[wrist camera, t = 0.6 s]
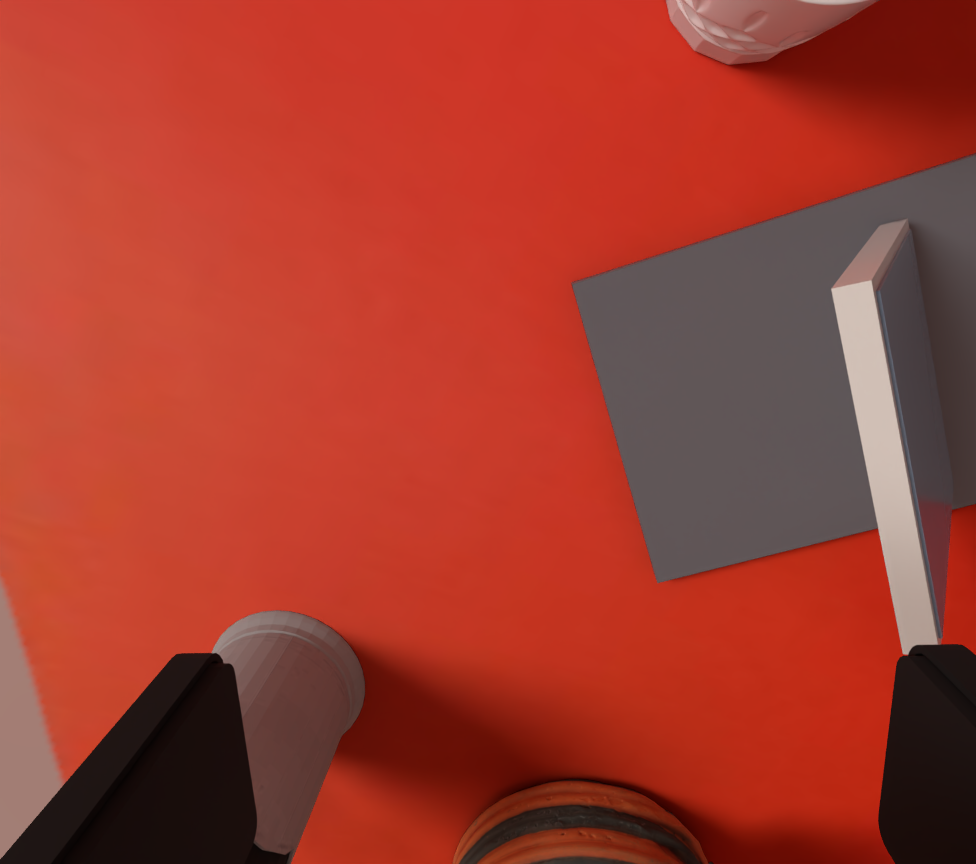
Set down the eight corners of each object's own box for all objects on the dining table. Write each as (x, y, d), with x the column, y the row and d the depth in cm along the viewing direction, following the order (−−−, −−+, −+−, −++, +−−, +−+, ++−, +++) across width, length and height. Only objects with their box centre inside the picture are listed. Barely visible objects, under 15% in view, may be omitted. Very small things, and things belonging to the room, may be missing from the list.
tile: (881, 223, 29) (911, 215, 28) (926, 485, 32) (955, 483, 31) (831, 288, 19) (875, 279, 19) (903, 653, 22) (943, 656, 22)
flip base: (1206, 79, 28) (1230, 73, 27) (1228, 429, 31) (1250, 435, 30) (571, 282, 31) (572, 283, 31) (654, 573, 35) (657, 582, 34)
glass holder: (396, 673, 38) (307, 944, 23) (258, 832, 41) (107, 1151, 27) (262, 580, 37) (83, 801, 22) (133, 751, 40) (-92, 1036, 26)
